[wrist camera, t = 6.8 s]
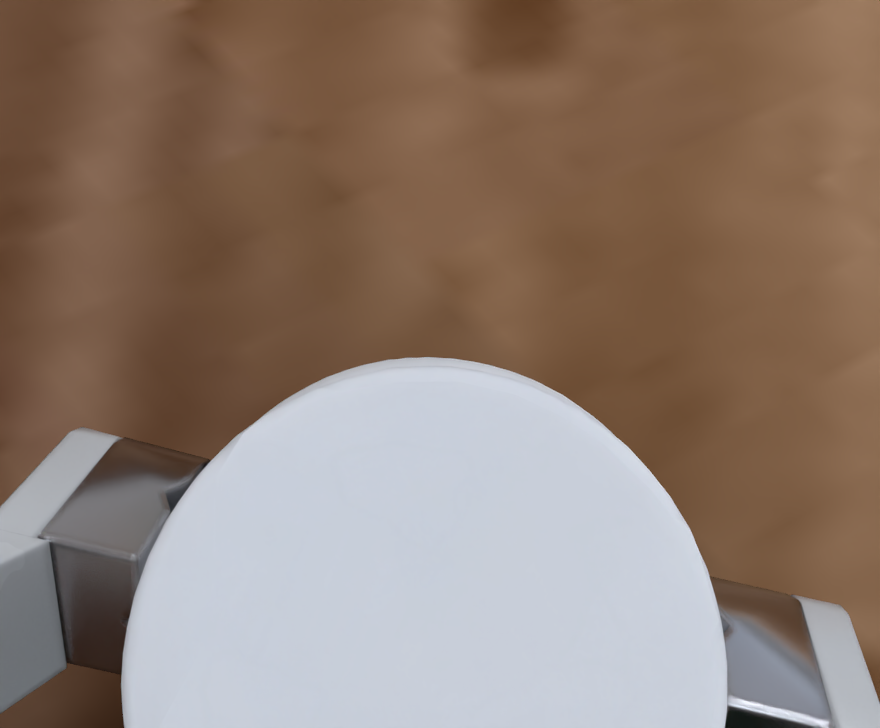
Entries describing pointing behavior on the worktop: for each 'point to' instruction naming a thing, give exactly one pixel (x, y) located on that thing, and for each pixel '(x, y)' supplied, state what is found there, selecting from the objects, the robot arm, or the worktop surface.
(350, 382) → the pill bottle
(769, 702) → the robot arm
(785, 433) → the worktop surface
